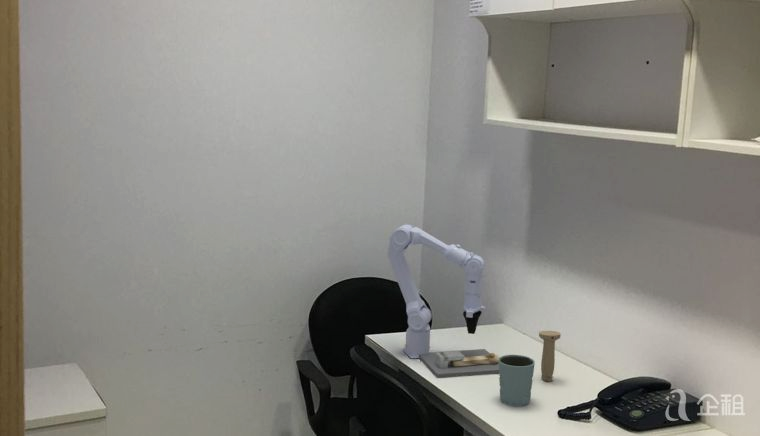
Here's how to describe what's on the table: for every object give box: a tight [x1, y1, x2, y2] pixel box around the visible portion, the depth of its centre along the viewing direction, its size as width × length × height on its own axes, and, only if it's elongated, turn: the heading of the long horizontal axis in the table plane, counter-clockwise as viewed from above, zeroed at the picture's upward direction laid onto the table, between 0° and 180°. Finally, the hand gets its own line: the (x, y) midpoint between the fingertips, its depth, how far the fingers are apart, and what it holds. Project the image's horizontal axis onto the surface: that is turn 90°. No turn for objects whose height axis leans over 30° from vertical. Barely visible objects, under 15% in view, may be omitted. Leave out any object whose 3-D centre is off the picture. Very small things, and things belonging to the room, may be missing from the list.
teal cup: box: [498, 354, 536, 407], centre depth 214 cm, size 10×10×12 cm
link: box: [450, 352, 500, 367], centre depth 241 cm, size 16×5×2 cm, turn 108°
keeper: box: [435, 350, 465, 369], centre depth 239 cm, size 8×5×4 cm, turn 105°
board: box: [418, 348, 499, 379], centre depth 243 cm, size 20×24×1 cm
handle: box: [538, 330, 562, 382], centre depth 230 cm, size 5×6×15 cm
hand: (471, 333), depth 246 cm, fingers closed
